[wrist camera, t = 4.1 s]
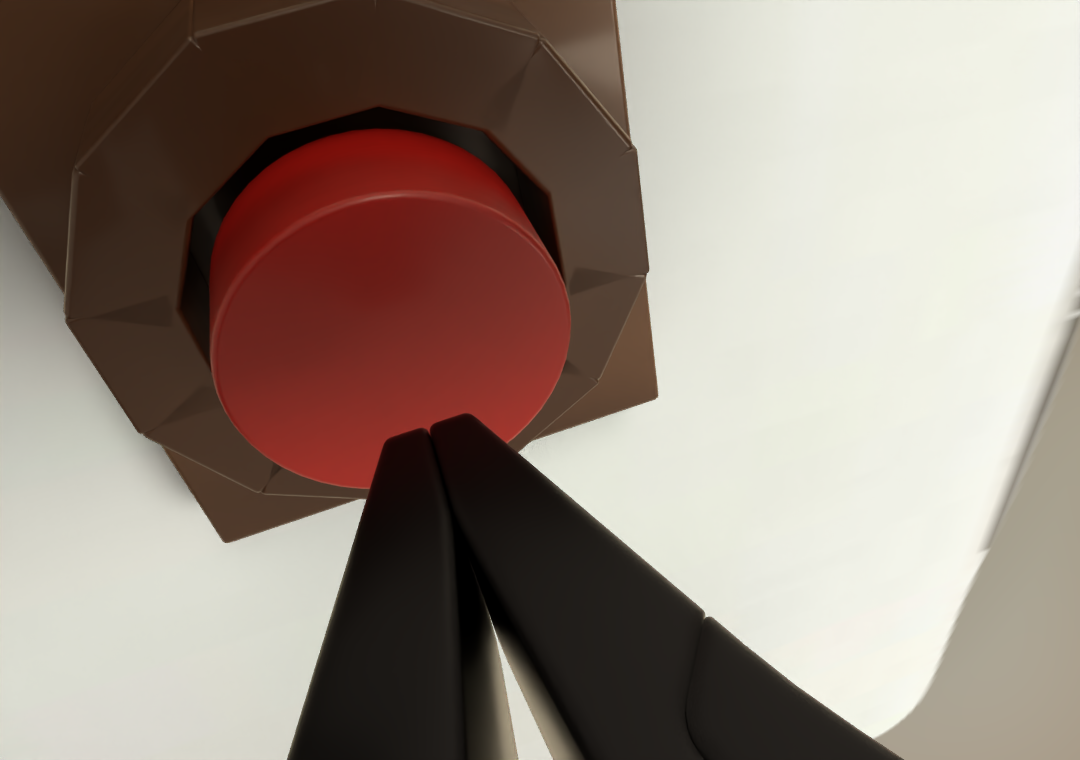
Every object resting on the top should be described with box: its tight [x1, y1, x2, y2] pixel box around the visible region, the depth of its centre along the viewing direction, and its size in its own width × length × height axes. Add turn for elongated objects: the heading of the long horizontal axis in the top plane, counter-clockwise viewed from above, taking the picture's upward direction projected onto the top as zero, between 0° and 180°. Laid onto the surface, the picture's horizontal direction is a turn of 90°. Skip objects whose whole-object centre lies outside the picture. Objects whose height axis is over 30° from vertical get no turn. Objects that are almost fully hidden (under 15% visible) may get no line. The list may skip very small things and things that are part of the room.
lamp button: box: [209, 128, 571, 489], centre depth 10 cm, size 4×4×2 cm
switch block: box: [0, 0, 658, 543], centre depth 12 cm, size 10×8×3 cm
